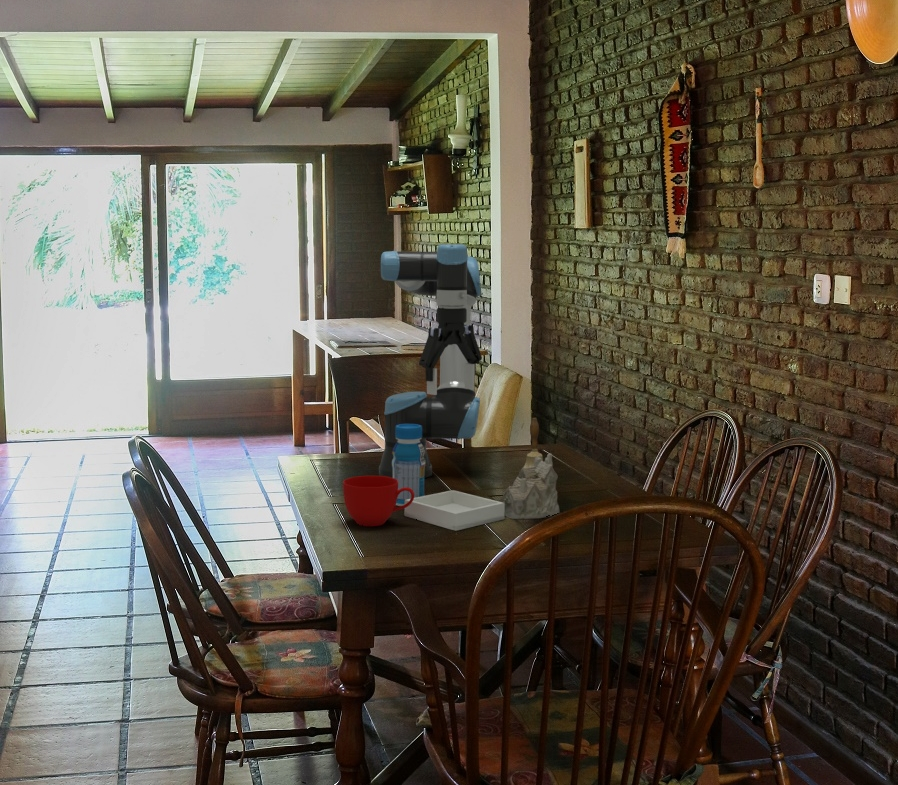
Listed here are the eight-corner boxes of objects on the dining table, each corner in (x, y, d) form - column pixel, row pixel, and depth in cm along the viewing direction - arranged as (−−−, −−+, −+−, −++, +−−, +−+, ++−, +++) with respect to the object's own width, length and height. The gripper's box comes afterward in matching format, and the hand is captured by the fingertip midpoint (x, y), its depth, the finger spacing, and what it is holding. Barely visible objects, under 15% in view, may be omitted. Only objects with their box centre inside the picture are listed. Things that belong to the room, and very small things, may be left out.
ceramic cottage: (541, 500, 284) (539, 443, 281) (570, 517, 268) (569, 457, 266) (485, 508, 278) (483, 450, 275) (511, 526, 263) (509, 466, 260)
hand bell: (529, 476, 312) (530, 421, 310) (514, 471, 319) (515, 416, 317) (554, 474, 316) (555, 419, 314) (539, 468, 323) (540, 414, 321)
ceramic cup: (408, 532, 252) (408, 489, 250) (336, 528, 255) (336, 485, 253) (419, 518, 264) (419, 477, 263) (351, 514, 267) (351, 474, 266)
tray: (404, 516, 266) (404, 499, 266) (453, 505, 277) (453, 490, 277) (455, 530, 253) (455, 513, 253) (504, 519, 264) (504, 502, 264)
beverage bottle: (402, 509, 273) (402, 429, 270) (385, 502, 280) (385, 424, 278) (431, 505, 278) (431, 426, 275) (414, 498, 285) (414, 421, 282)
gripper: (426, 310, 263) (426, 398, 266) (496, 305, 280) (495, 388, 283) (404, 308, 268) (404, 394, 271) (474, 304, 286) (473, 385, 289)
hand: (450, 391), depth 277 cm, fingers open, 13 cm apart
